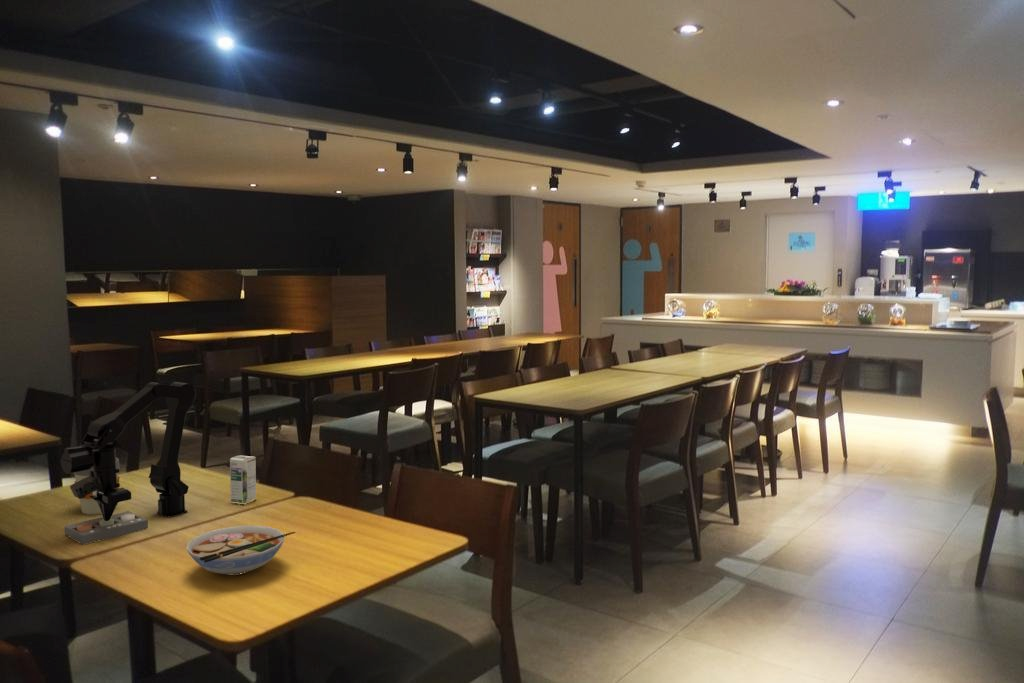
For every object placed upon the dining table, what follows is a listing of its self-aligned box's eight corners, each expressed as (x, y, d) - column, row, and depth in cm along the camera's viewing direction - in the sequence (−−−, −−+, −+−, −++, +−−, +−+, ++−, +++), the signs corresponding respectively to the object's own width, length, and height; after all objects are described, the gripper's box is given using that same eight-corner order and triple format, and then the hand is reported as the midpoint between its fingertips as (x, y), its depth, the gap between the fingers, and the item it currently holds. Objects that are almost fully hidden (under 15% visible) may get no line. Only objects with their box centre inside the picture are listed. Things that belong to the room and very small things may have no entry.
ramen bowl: (256, 545, 206) (255, 515, 205) (307, 566, 192) (307, 534, 191) (164, 573, 187) (163, 540, 186) (214, 599, 173) (213, 563, 172)
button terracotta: (89, 533, 214) (88, 522, 213) (94, 536, 211) (94, 525, 211) (75, 536, 211) (74, 526, 211) (80, 539, 209) (80, 528, 208)
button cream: (131, 523, 223) (131, 512, 222) (137, 525, 220) (137, 515, 220) (118, 526, 220) (118, 515, 219) (124, 528, 217) (124, 518, 217)
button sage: (110, 528, 218) (110, 517, 218) (116, 530, 216) (116, 520, 215) (97, 531, 215) (97, 520, 215) (103, 534, 213) (102, 523, 213)
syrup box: (230, 504, 242) (228, 458, 240) (241, 498, 247) (240, 454, 246) (245, 505, 240) (244, 460, 239) (257, 500, 246) (256, 455, 244)
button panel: (128, 519, 226) (128, 510, 226) (147, 528, 218) (147, 519, 218) (65, 534, 213) (64, 525, 212) (83, 544, 205) (82, 535, 205)
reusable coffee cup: (130, 504, 240) (128, 457, 239) (105, 517, 228) (103, 467, 226) (92, 502, 242) (90, 455, 240) (65, 515, 229) (63, 465, 228)
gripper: (59, 465, 214) (62, 520, 215) (87, 478, 202) (90, 535, 203) (101, 458, 222) (103, 511, 224) (131, 469, 210) (133, 525, 212)
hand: (106, 520), depth 215 cm, fingers closed, pressing on button sage
